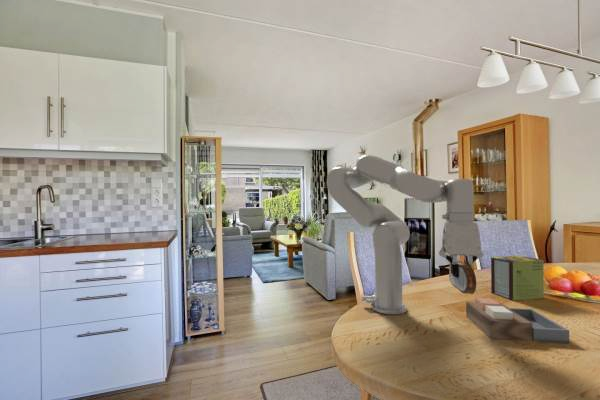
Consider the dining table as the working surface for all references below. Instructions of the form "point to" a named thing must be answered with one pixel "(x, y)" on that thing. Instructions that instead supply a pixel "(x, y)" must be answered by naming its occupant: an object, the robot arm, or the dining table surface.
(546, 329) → the box
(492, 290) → the protein box
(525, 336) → the brown flat block
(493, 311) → the cream tile
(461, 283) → the tin
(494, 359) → the dining table surface
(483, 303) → the terracotta tile
